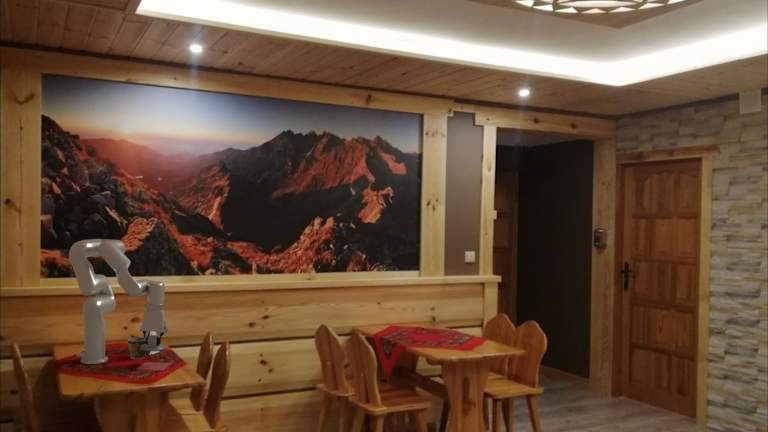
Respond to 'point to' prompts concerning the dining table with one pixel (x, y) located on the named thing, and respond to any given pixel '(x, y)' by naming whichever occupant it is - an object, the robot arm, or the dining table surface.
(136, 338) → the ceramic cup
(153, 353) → the medicine bottle
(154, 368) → the mat
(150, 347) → the lid
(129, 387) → the dining table surface
